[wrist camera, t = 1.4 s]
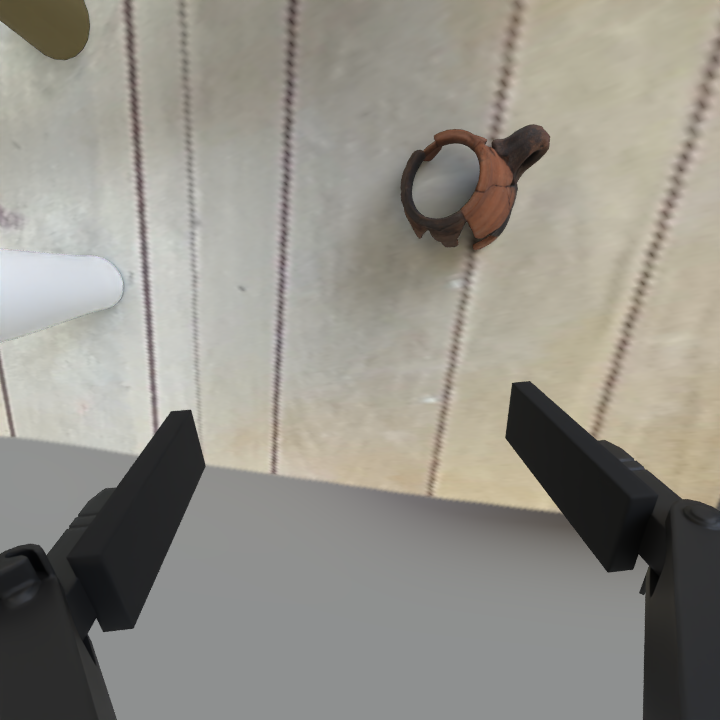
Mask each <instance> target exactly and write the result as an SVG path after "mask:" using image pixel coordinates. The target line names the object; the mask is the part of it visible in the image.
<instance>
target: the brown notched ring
mask: <svg viewBox="0 0 720 720" xmlns="http://www.w3.org/2000/svg"><path fill="white" fill-rule="evenodd" d="M434 140H435V141H434V142H433V143H432V144H430V145H429V146H427V147H426V148H425V149H424V151H423V150H416V151H414V153H413V154H412V155H411V157H410V158H409V160H408V162H407V165H406V167H405V169H404V172H403V175H402V179H401V201H402V203H403V207H404V211H405V214H406V217H407V219H408V221H409V222H410V224H411V226H412V228H413V230H414V232H415V234H416V235H417V236H418V238H419V239H420V238H422V235H423V234H424V233H425V232H426V231H427V230H429V231H430V234H431V236H432V237H433V238H434V239H435V240H437V241H439V242H441V243H442V244H443V245H444V246H445V247H455V246H457V245H458V239H457V238H458V237H459V235H460V233H461V230H462V228H463V226H464V224H465V223H466V222H467V223H468V224H469V226H470V228H471V230H472V232H473V234H474V237H475V238H479V239H480V238H484V237H486V236H487V235H488V234H489V235H490V236H488V237H486V238H485V239H483V240H481V241H479V242H477V243H475V244H473V249H474V250H477V249H481V248H483V247H485V246H487V245H489V244H490V243H491V242H493V241H494V240H495V239H496V238H497V237H498V236H499V235H500V234H501V233H502V232H503V230H504V229H505V227H506V225H507V223H508V221H509V218H510V215H511V211H512V208H513V205H514V202H515V199H516V195H517V190H518V188H517V182H518V180H519V178H520V177H521V175H522V174H523V173H524V172H525V171H526V170H527V169H528V168H530V167H531V166H532V165H533V164H535V163H536V162H537V161H538V160H539V159H540V158H541V157H542V156H543V155H544V154H545V153H546V152H547V151H548V149H549V142H550V136H549V134H548V133H547V132H546V131H545V130H544V129H543V127H541V126H538V125H534V124H533V125H528V126H525V127H523V128H521V129H519V130H517V131H516V132H514V133H513V134H512V135H510V136H509V137H507V138H505V139H496V140H493V142H492V148H491V147H488V146H486V145H485V144H486V142H487V139H485V138H483V137H480V136H476V135H473V134H472V133H470V132H468V131H465V130H461V129H460V130H459V129H453V130H446V131H443V132H440V133H438V134H436V135H434ZM453 143H459V144H463V145H466V146H468V147H470V148H471V149H472V150H473V151H474V152H475V153H476V155H477V157H478V160H479V165H480V175H479V181H478V184H477V187H476V189H475V192H474V193H473V195H472V197H471V198H470V199H469V201H468V202H467V203H466V204H465V205H464V206H463V207H462V208H461V209H460V210H459V211H458V212H456V213H454V214H452V215H450V216H448V217H445V218H437V219H435V218H428V217H425V216H424V215H422V214H421V213H420V212H419V211H418V210H417V209H416V207H415V205H414V202H413V198H412V186H413V181H414V177H415V174H416V172H417V170H418V168H419V166H420V165H421V163H422V162H423V161H430V160H432V159H433V158H434V157H435V156H436V155H437V154H438V152H439V151H440V150H441V148H442V146H444V145H448V144H453Z"/></svg>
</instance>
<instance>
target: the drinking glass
mask: <svg viewBox="0 0 720 720" xmlns="http://www.w3.org/2000/svg"><path fill="white" fill-rule="evenodd" d="M122 293H123V281H122V278H121V275H120V273H119V271H118V270H117V269H116V267H115V266H114V265H113V264H112V263H110V262H109V261H107V260H106V259H104V258H102V257H99V256H94V255H68V254H57V253H45V252H34V251H24V250H13V249H3V248H0V343H1V342H5V341H9V340H13V339H16V338H19V337H23V336H26V335H29V334H32V333H35V332H38V331H41V330H43V329H46V328H49V327H52V326H55V325H58V324H60V323H63V322H66V321H69V320H72V319H75V318H78V317H81V316H84V315H87V314H90V313H93V312H96V311H100V310H105V309H108V308H110V307H112V306H114V305H115V304H117V303H118V301H119V300H120V298H121V296H122Z"/></svg>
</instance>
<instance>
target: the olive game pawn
mask: <svg viewBox="0 0 720 720" xmlns="http://www.w3.org/2000/svg"><path fill="white" fill-rule="evenodd" d="M0 21H1V22H3V23H4V24H5V25H7V26H8V27H9V28H11V29H12V30H13V31H14V32H16V33H17V34H18V35H20V36H21V37H22V38H23V39H25V40H26V41H27V42H29V43H30V44H31V45H33V46H34V47H35V48H36V49H38V50H39V51H40V52H42V53H43V54H44V55H46V56H49V57H51V58H53V59H60V60H66V59H69V58H72V57H75V56H76V55H77V54H78V53H79V52H80V51H81V50H82V49H83V48H84V46H85V44H86V42H87V40H88V35H89V28H90V24H89V16H88V11H87V8H86V6H85V3H84V0H0Z"/></svg>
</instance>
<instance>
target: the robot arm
mask: <svg viewBox="0 0 720 720" xmlns="http://www.w3.org/2000/svg"><path fill="white" fill-rule="evenodd" d="M505 438H506V439H507V441H508V442H509V443H510V445H511V446H512V447H513V449H514V450H515V451H516V453H517V454H518V455H519V457H520V458H521V459H522V460H523V462H524V463H525V464H526V466H527V467H528V468H529V470H530V471H531V472H532V474H533V475H534V476H535V478H536V479H537V480H538V482H539V483H540V484H541V485H542V487H543V488H544V489H545V491H546V492H547V493H548V495H549V496H550V497H551V499H552V500H553V501H554V503H555V504H556V505H557V506H558V508H559V509H560V510H561V512H562V513H563V514H564V516H565V517H566V518H567V519H568V521H569V522H570V524H571V525H572V526H573V527H574V529H575V530H576V531H577V533H578V534H579V535H580V537H581V538H582V539H583V541H584V542H585V543H586V545H587V546H588V547H589V549H590V550H591V551H592V552H593V554H594V555H595V556H596V558H597V559H598V560H599V562H600V563H601V564H602V566H603V567H604V568H605V570H606V571H607V572H617V571H625V570H633V568H634V566H635V563H636V560H637V557H638V554H639V555H640V556H641V557H642V558H643V559H644V560H645V561H646V563H647V564H648V565H649V567H648V570H647V573H646V576H645V578H644V581H643V584H642V587H641V590H640V592H639V593H640V594H642V595H644V594H645V592H646V596H645V645H644V691H643V720H720V511H719V510H717V509H715V508H714V507H712V506H709V505H707V504H704V503H702V502H698V501H694V500H689V499H681V498H680V497H679V496H678V495H677V494H675V493H674V492H673V491H672V490H671V489H669V488H668V487H667V486H666V485H665V484H663V483H662V482H661V481H660V480H659V479H657V478H656V477H655V476H654V475H653V474H652V473H650V472H649V471H648V470H647V469H646V470H645V469H644V467H643V466H642V465H641V464H640V463H638V462H637V461H634V458H632V457H631V456H630V455H629V454H628V453H626V452H625V451H624V450H623V449H622V448H620V447H618V446H616V445H614V444H612V443H610V442H608V441H606V440H600V441H597V440H596V439H595V438H594V437H593V436H591V435H590V434H589V433H588V432H587V431H586V430H585V429H583V428H582V427H581V426H580V425H579V424H578V423H577V422H576V421H574V420H573V419H572V418H571V417H570V416H569V415H568V414H566V413H565V412H564V411H563V410H562V409H561V408H560V407H559V406H557V405H556V404H555V403H554V402H553V401H552V400H551V399H549V398H548V397H547V396H546V395H545V394H544V393H543V392H542V391H540V390H539V389H538V388H537V387H536V386H535V385H534V384H532V383H531V382H530V381H528V382H516V383H512V389H511V397H510V405H509V413H508V421H507V429H506V437H505ZM204 468H205V462H204V458H203V454H202V450H201V446H200V442H199V438H198V434H197V431H196V427H195V423H194V419H193V415H192V411H191V410H182V411H171V412H170V414H169V415H168V417H167V418H166V419H165V421H164V422H163V424H162V425H161V426H160V428H159V429H158V431H157V432H156V433H155V435H154V436H153V437H152V439H151V440H150V442H149V443H148V444H147V446H146V447H145V449H144V450H143V451H142V453H141V454H140V456H139V457H138V458H137V460H136V461H135V463H134V464H133V465H132V467H131V468H130V469H129V471H128V472H127V474H126V475H125V476H124V478H123V479H122V481H121V482H120V483H119V485H118V486H117V488H106V489H104V490H102V491H101V492H100V493H98V494H97V495H96V496H95V497H93V498H92V499H91V500H90V501H88V503H87V504H86V505H85V507H84V508H83V509H82V510H81V512H80V513H79V514H78V517H77V518H75V519H74V521H73V522H72V523H71V525H70V526H69V529H67V530H66V531H65V532H64V533H63V535H62V536H61V537H60V539H59V540H58V541H57V542H56V544H55V545H54V547H53V548H52V549H51V550H50V551H49V553H48V554H47V555H46V554H45V552H44V550H43V549H42V548H41V547H40V546H39V545H35V544H26V545H21V546H17V547H15V548H12V549H9V550H7V551H4V552H3V553H1V554H0V720H117V719H116V716H115V712H114V709H113V706H112V703H111V700H110V697H109V694H108V691H107V688H106V685H105V682H104V679H103V676H102V673H101V669H100V666H99V663H98V660H97V657H96V654H95V651H94V648H93V645H92V642H91V640H90V638H89V636H88V632H89V630H90V628H91V626H92V625H93V623H94V621H95V619H96V618H97V620H98V622H99V624H100V626H101V628H102V630H103V632H108V631H116V630H125V629H133V628H134V626H135V624H136V621H137V619H138V617H139V615H140V613H141V610H142V608H143V606H144V603H145V601H146V599H147V597H148V595H149V592H150V590H151V588H152V586H153V583H154V581H155V579H156V576H157V574H158V572H159V570H160V567H161V565H162V563H163V561H164V558H165V556H166V554H167V552H168V549H169V547H170V545H171V543H172V540H173V538H174V536H175V534H176V531H177V529H178V527H179V525H180V522H181V520H182V518H183V516H184V513H185V511H186V509H187V507H188V504H189V502H190V500H191V497H192V495H193V493H194V491H195V489H196V486H197V484H198V482H199V480H200V477H201V475H202V473H203V470H204Z"/></svg>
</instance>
